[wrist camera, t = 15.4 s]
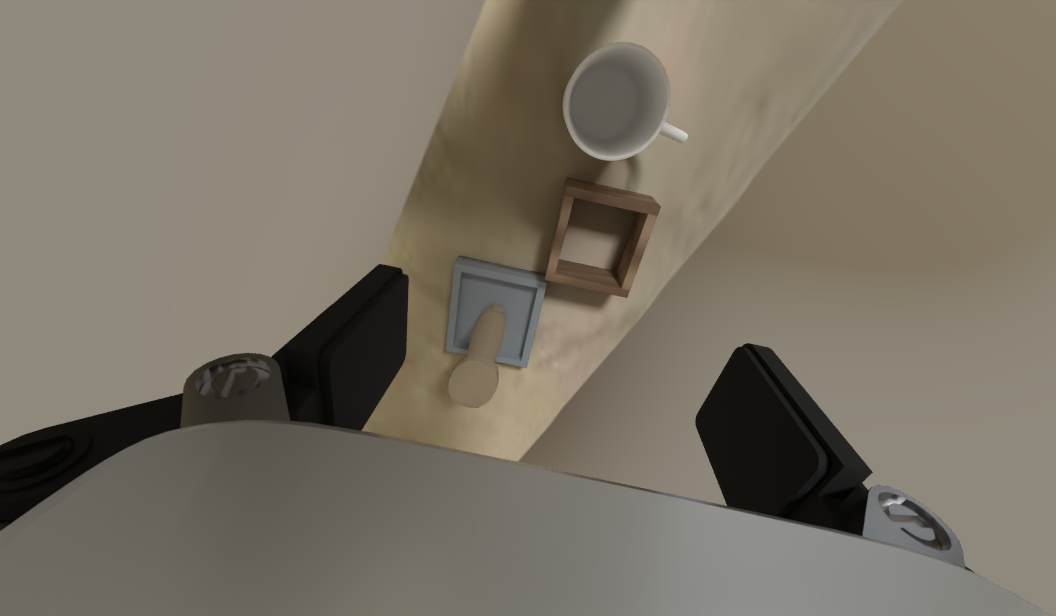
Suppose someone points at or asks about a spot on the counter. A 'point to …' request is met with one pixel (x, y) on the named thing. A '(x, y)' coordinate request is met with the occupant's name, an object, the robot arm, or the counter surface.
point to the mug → (618, 102)
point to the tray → (505, 288)
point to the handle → (479, 361)
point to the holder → (632, 252)
